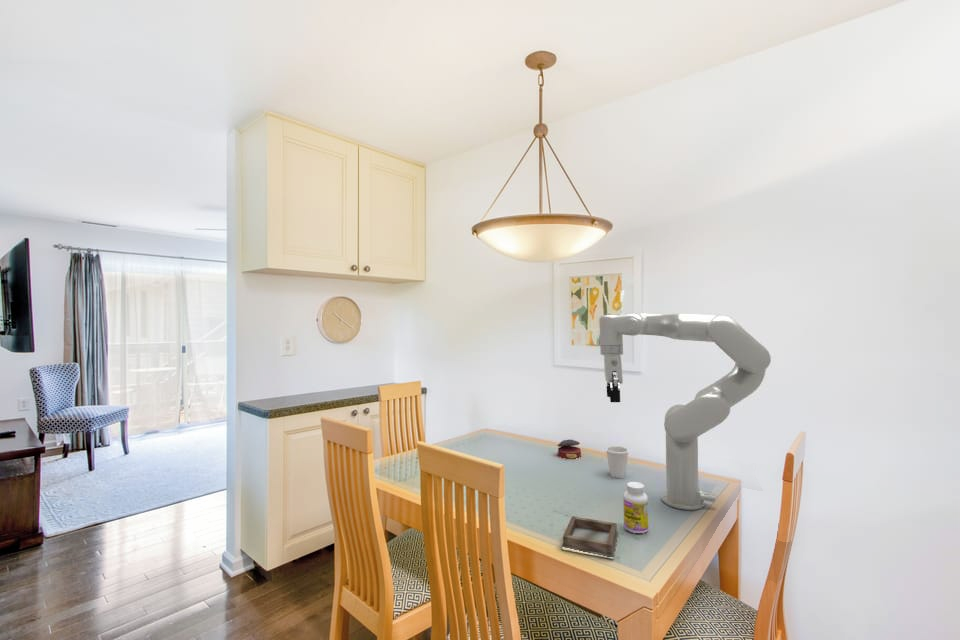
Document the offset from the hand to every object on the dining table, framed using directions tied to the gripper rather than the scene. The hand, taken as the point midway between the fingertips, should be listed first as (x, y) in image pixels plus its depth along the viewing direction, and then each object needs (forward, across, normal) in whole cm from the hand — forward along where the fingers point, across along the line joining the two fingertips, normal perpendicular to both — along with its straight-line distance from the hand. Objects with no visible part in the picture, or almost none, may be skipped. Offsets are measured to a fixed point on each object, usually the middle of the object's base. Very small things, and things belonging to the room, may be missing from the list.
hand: (613, 399), depth 151 cm
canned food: (+32, +39, +15) cm, 53 cm away
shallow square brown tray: (+32, -35, +12) cm, 49 cm away
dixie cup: (+33, +17, -3) cm, 37 cm away
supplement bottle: (+33, -26, -2) cm, 42 cm away
